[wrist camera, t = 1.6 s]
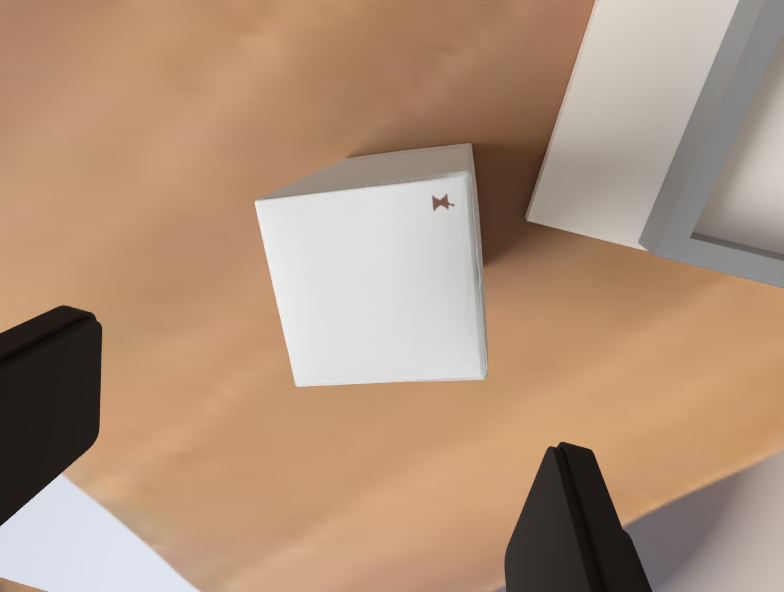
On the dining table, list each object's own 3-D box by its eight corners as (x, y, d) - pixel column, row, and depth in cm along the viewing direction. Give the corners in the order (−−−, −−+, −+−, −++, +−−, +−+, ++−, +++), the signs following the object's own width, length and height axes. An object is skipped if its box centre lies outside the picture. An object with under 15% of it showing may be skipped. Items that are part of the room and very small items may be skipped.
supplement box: (338, 156, 28) (247, 191, 17) (474, 140, 27) (478, 166, 15) (358, 282, 31) (289, 391, 19) (483, 273, 29) (492, 384, 18)
